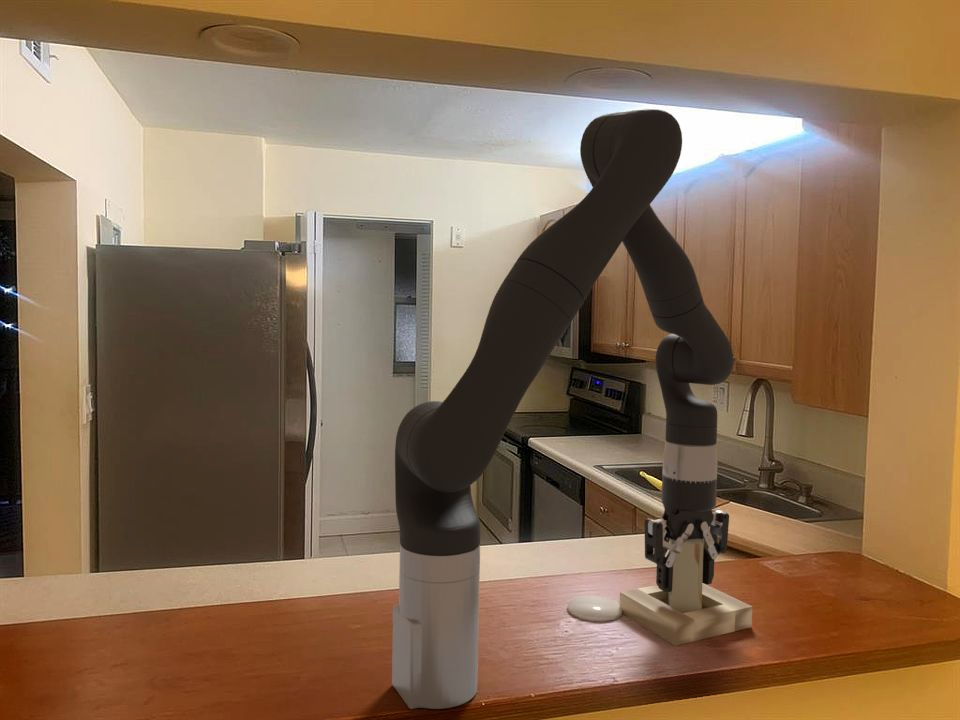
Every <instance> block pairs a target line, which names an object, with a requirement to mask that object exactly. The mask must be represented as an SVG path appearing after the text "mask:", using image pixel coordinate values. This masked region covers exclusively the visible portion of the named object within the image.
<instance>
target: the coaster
mask: <svg viewBox="0 0 960 720" xmlns="http://www.w3.org/2000/svg"><path fill="white" fill-rule="evenodd" d="M619 605H620V602H617V601H616V600H614V599H612V598H609V597H606V596H605V597H604V596H600V595H580V596H575V597H573V598H571V599H569V601H568V602H567V610H568V612H569V613H570V614H571V615H572V616H574V617H576V618H578V619H582V620H586V621H590V622H601V623H602V622H611V621H615V620H617V619H619V618H621V616H622V615H623V614H622V609H621V608H619Z"/></svg>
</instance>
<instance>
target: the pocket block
mask: <svg viewBox="0 0 960 720" xmlns="http://www.w3.org/2000/svg"><path fill="white" fill-rule="evenodd" d="M619 604H620V605H619V608H621V609H622V615H624V616H625V615H626V617H627V618H629V619H631V620H632V621H634V622H635V621H636V622H635V623H637V624H639V625H640V626H642V627H643V626H644V628H645V629H647V630H648V631H650V632H651V633H654V634H655V635H656V636H658V637H660V638H661V639H663V640H665V642H668V643H670V644H671V645H673V646H675V647H676V646H680V645H684V644H688V643H693V642H697V641H701V640H705V639H709V638H713V637H717V636H721V635H724V634H729V633H733V632H737V631H742V630H745V629H750V628H752V626H753V625H752V624H753V605H750V604H748V603H746V602H744V601H743V600H742V601H741V600H739V599H737V598H735V597H734V596H731V595H729V594H727V593H726V592H722V591H721V590H718V589H717V588H714V587H712V586H710V585H709V584H708V585H706V584H704V583H702V609H700V610H696V611H691V612H687V613H681V612H680V611H678V610H676V609H674V608H672V607H670V606H669V605H668V592H664V591H662V590H661V589H659V587H658V586H657V584H654V585H649V586H644V587H639V588H638V587H637V588H633V589H628V590H623V591H622V590H621V591H619Z"/></svg>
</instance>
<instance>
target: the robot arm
mask: <svg viewBox="0 0 960 720" xmlns="http://www.w3.org/2000/svg"><path fill="white" fill-rule="evenodd" d="M581 136H582V137H581V139H580V148H579V151H580V153H579V154H580V160H581V164H582V166H583V170H584V173H585V174H586V176H587V179H588V181H589V184H590V185H591V187H592V188H591V190H589V192H588V193H587V195H585V197H584V198H583V199H582V200H580V201H579V203H577V205H575V206H573V208H572V209H570V211H568V212H567V213H565V214H564V215H562V217H560V218H559V219H558V220H556V221H555V222H554V223H553V224H551V225H550V226H548V227H547V228H546V229H545V230H544V231H543V232H541V233H540V234H539V235H538V236H537V237H536V238H534V239H533V240H532V241H531V242H530V243H529V244H528V245H527V246H526V248H525V249H524V250H523V251H522V252H521V254H520V255H519V257H518V258H517V260H516V262H514V264H513V266H512V267H511V269H510V271H509V272H508V274H507V275H506V276H505V278H504V279H503V281H502V283H501V284H500V286H499V288H498V290H497V291H496V293H495V295H494V297H493V300H492V301H491V304H490V307H489V309H488V312H487V316H486V319H485V322H484V326H483V330H482V332H481V333H482V334H481V336H480V339H479V342H478V345H477V349H476V351H475V353H474V356H473V358H472V359H471V362H470V363H469V366H468V367H467V368H466V370H465V371H464V373H463V375H462V376H461V377H460V379H459V380H458V381H457V383H456V384H455V385H454V387H453V388H452V390H451V391H450V393H449V394H448V395H447V396H446V397H445V399H444V400H443V401H440V400H439V401H438V400H437V401H436V400H435V401H434V400H433V401H432V400H431V401H426V402H423V403H419V404H417V405H416V406H414V407H413V408H412V409H410V410H408V412H407V413H406V414H405V415H404V417H403V419H402V420H401V421H400V423H399V426H398V429H397V432H396V436H395V445H394V446H395V447H394V449H395V450H394V482H395V483H394V485H395V489H394V492H395V494H394V496H395V512H396V519H397V522H398V526H399V527H398V528H399V573H398V575H399V577H398V578H399V579H398V580H399V583H398V584H399V587H398V589H399V591H398V592H399V593H398V604H395V605H393V606H392V647H391V648H392V650H391V651H392V657H391V658H392V659H391V662H392V664H391V665H392V666H391V667H392V668H391V669H392V670H391V685H392V687H393V688H394V690H396V692H397V693H398V695H399V696H400V697H401V699H402V700H403V702H404V703H405V704H406V706H407V707H408V709H410V710H414V709H418V708H419V709H420V708H423V709H431V710H441V709H451V708H454V707H458V706H461V705H463V704H466V703H467V702H469V701H470V700H472V699H473V698H474V697H475V695H476V694H477V693H478V683H479V681H478V680H479V679H478V677H479V625H480V622H479V620H480V617H479V616H480V576H481V575H480V573H481V572H480V570H481V567H480V566H481V521H480V518H479V515H478V513H477V510H476V508H475V505H474V501H473V497H472V487H471V486H472V485H473V484H474V483H475V482H476V481H478V480H479V478H480V477H481V476H482V475H483V474H484V473H485V471H486V470H487V468H488V466H489V465H490V463H491V462H492V459H493V457H494V455H495V453H496V451H497V450H498V448H499V446H500V443H501V441H502V439H503V437H504V435H505V433H506V432H507V431H506V430H507V429H508V427H509V425H510V423H511V421H512V419H513V417H514V415H515V412H516V411H517V409H518V407H519V405H520V403H521V401H522V400H523V397H524V396H525V394H526V392H527V391H528V389H529V387H530V386H531V385H532V383H533V382H534V380H535V378H536V377H537V376H538V374H539V372H540V371H541V370H542V368H543V367H544V365H545V363H546V362H547V360H548V359H549V357H550V355H551V353H552V352H553V350H554V349H555V347H556V346H557V344H558V343H559V342H560V339H562V337H563V335H564V334H565V333H566V331H567V330H568V328H569V327H570V325H571V323H572V321H573V320H574V318H575V316H576V315H577V313H578V312H579V311H580V309H581V308H582V306H583V304H584V302H585V301H586V299H587V297H588V296H589V294H590V292H591V290H592V288H593V287H594V285H595V283H596V282H597V280H598V278H599V277H600V275H602V273H603V272H604V269H605V268H606V267H607V265H608V264H609V262H610V261H611V259H612V258H613V256H614V254H615V253H616V251H617V250H618V248H619V247H620V246H621V243H622V244H623V246H624V248H625V249H626V251H627V254H628V256H629V258H630V259H631V261H632V264H633V265H634V266H633V267H634V269H635V271H636V274H637V276H638V279H639V282H640V284H641V287H642V290H643V293H644V295H645V299H646V302H647V304H648V308H649V311H650V314H651V316H652V319H653V321H654V323H655V325H656V326H657V328H659V329H660V330H661V331H664V332H666V333H669V334H667V335H665V337H663V339H662V340H661V341H660V343H658V347H657V349H656V352H655V369H656V374H657V378H658V383H659V386H660V390H661V395H662V399H663V404H664V408H665V416H666V417H665V442H664V449H663V454H662V473H661V474H662V476H661V479H662V480H661V502H662V505H663V508H664V509H663V510H664V511H663V514H662V516H661V518H658V519H652V518H649V517H648V518H645V520H644V558H645V560H648V561H650V562H652V563H654V564H656V573H655V575H656V577H655V580H656V581H655V582H656V585H657V586H658V587H659V589H661V590H662V591H664V592H671V591H672V582H673V567H672V564H673V562H674V560H675V554H676V553H681V551H682V545H680V544H682V543H684V542H686V541H687V540H688V539H702V540H703V543H704V548H703V580H702V583H704V584H706V585H708V586H709V585H711V584H712V583H713V580H714V577H715V560H716V559H717V558H718V555H719V554H725V553H727V549H728V537H729V536H728V535H729V525H730V523H729V522H730V515H729V513H727V512H724V511H722V510H718V509H716V505H717V484H718V482H717V481H718V451H717V439H718V438H717V436H718V410H717V407H716V405H715V404H713V403H711V402H710V401H707V400H704V399H702V398H699V397H697V396H696V395H695V394H694V393H693V390H692V388H691V384H697V385H708V386H714V385H715V386H716V385H719V384H722V383H724V382H725V381H726V380H727V379H728V378H729V377H730V375H731V373H732V371H733V368H734V362H735V360H734V359H735V358H734V352H733V348H732V345H731V343H730V340H729V338H728V337H727V335H726V333H725V332H724V330H723V329H722V327H721V326H720V325H719V323H718V321H717V320H716V319H715V317H714V315H713V314H712V312H711V311H710V310H709V308H708V307H707V305H706V303H705V301H704V299H703V295H702V292H701V288H700V284H699V282H698V278H697V274H696V272H695V269H694V266H693V264H692V262H691V260H690V258H689V256H688V254H687V253H686V252H685V250H684V249H683V247H682V246H681V244H680V243H679V242H678V240H676V238H675V237H674V236H673V235H672V234H671V232H670V231H669V230H668V229H667V228H666V226H665V224H663V222H662V221H661V219H660V218H659V216H658V215H657V214H656V212H655V211H654V209H653V208H652V205H651V204H652V202H653V201H654V200H655V199H656V197H657V196H658V195H659V194H660V192H661V191H662V190H663V188H664V187H665V186H666V184H667V183H668V181H669V180H670V179H671V177H672V175H673V174H674V172H675V170H676V168H677V165H678V163H679V160H680V158H681V154H682V148H683V134H682V129H681V126H680V123H679V121H678V120H677V119H676V117H674V116H673V114H672V113H670V112H667V111H665V110H663V109H657V108H637V109H634V110H626V111H618V112H617V111H616V112H612V113H606V114H602V115H599V116H597V117H595V118H594V119H593V120H591V121H590V123H588V125H587V126H586V128H585V129H584V132H583V133H582V135H581ZM670 539H671V540H672V539H673V540H677V541H676V543H675V544H670Z"/></svg>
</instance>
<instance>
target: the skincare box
mask: <svg viewBox="0 0 960 720" xmlns="http://www.w3.org/2000/svg"><path fill="white" fill-rule="evenodd" d="M676 541H677V540H673V539H672V540H671V539H670V541H669V543H670V544H675V543H676ZM680 545H682V551H681V553H676V554H675V560H674V562H673V564H672V567H673V582H672V591H671V592H668V605H669V606H670V607H672V608H674V609H676V610H678V611H680V612H681V613H687V612H691V611H696V610H700V609H702V580H703V548H704V543H703V540H702V539H688V540H687V541H686V542H684V543H682V544H680Z"/></svg>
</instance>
